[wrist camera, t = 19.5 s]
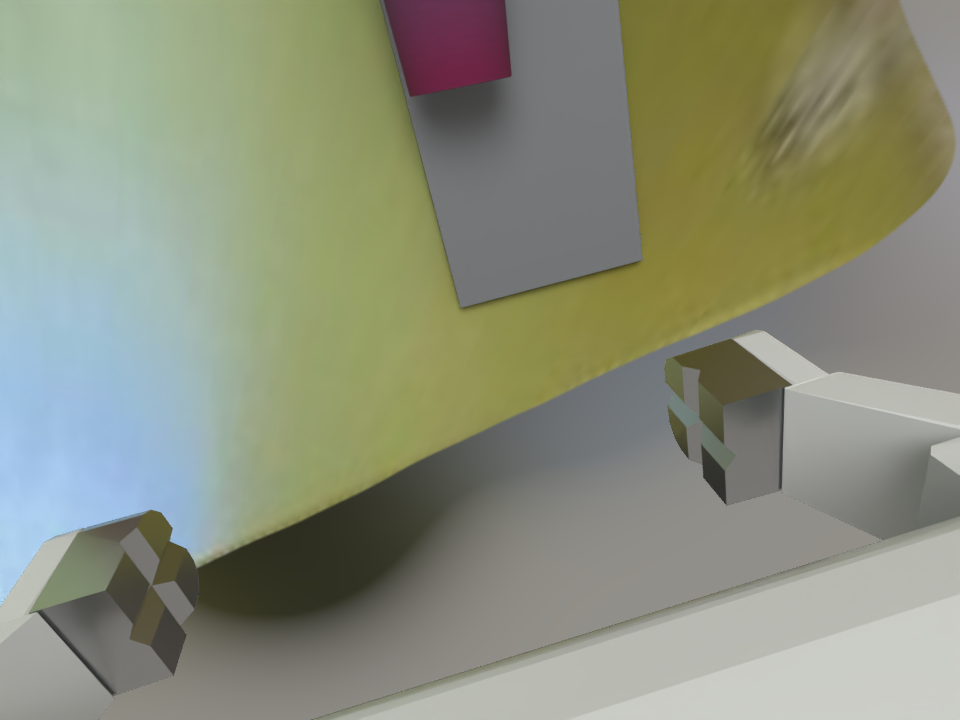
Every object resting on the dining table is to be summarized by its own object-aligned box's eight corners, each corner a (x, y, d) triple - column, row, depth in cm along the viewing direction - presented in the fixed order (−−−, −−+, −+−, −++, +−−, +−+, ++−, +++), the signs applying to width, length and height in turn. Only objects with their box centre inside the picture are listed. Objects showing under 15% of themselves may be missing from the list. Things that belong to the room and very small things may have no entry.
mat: (459, 303, 38) (460, 307, 37) (362, -66, 29) (361, -69, 28) (637, 256, 38) (642, 260, 38) (600, -127, 29) (605, -131, 28)
